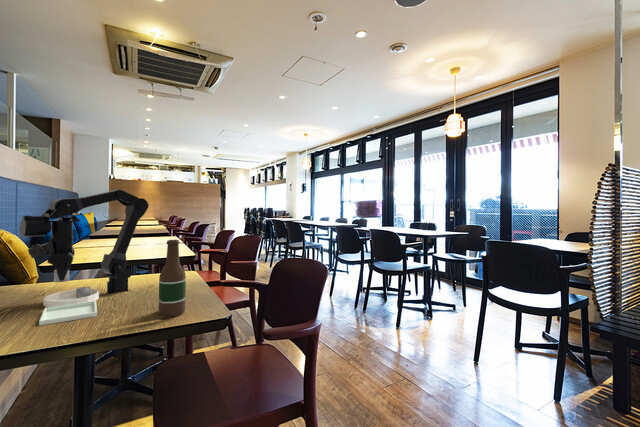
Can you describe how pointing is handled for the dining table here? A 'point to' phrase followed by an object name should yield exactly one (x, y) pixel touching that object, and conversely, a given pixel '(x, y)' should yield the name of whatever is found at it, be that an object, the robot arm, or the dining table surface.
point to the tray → (68, 312)
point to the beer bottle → (172, 283)
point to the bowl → (69, 298)
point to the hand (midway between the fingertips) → (62, 279)
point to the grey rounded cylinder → (82, 292)
